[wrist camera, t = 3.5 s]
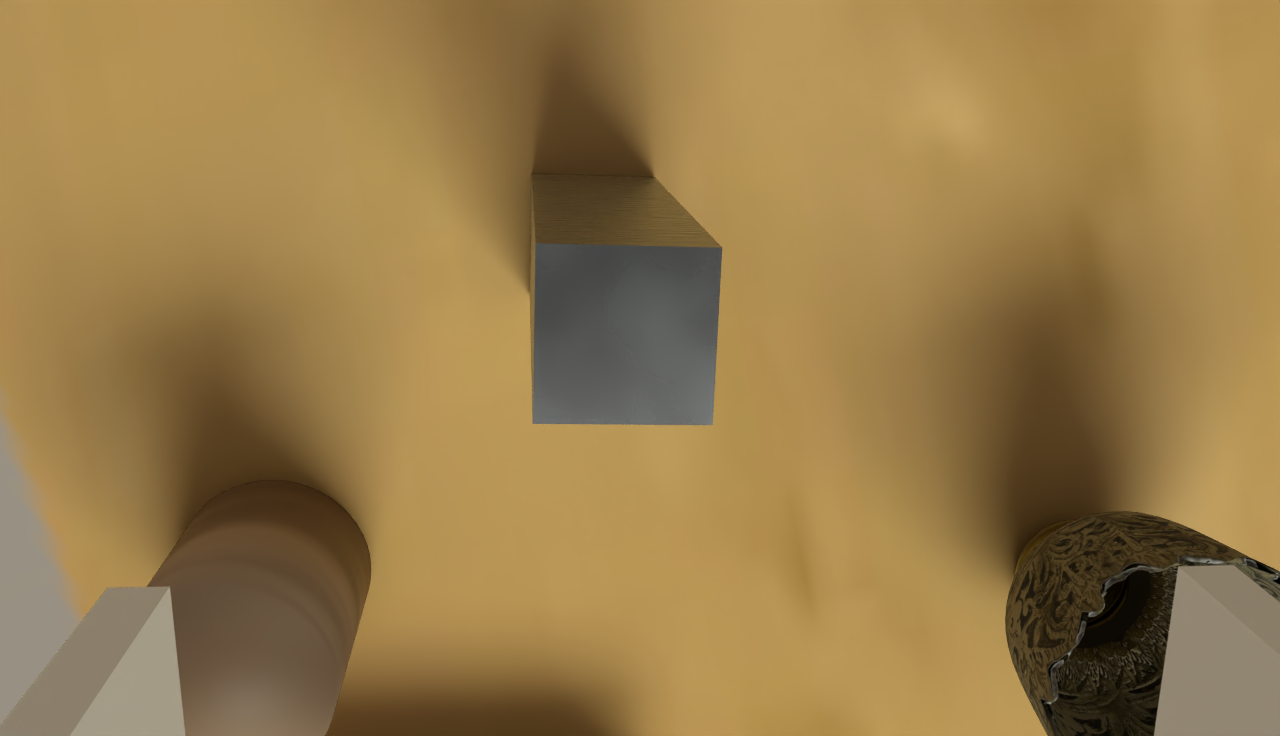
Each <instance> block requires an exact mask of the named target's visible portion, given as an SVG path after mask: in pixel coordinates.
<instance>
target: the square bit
mask: <svg viewBox="0 0 1280 736" xmlns="http://www.w3.org/2000/svg"><path fill="white" fill-rule="evenodd" d="M721 259H722V247H721V246H720V245H719V244H718V243H717V242H716V241H715V240H714V239H713V237H712V236H711V235H710V234H709V233H708V232H707V231H706V230H705V229H704V228H703V227H702V226H701V225H700V224H699V223H698V222H697V221H696V220H695V219H694V218H693V217H692V216H691V215H690V214H689V213H688V211H687V210H686V209H685V208H684V207H683V206H682V205H681V204H680V203H679V202H678V201H677V200H676V199H675V198H674V197H673V196H672V195H671V194H670V193H669V192H668V191H667V190H666V189H665V188H664V186H663V185H662V184H661V183H660V182H659V181H658V180H657V179H656V178H655V177H628V176H592V175H556V174H531V240H530V329H531V371H532V413H533V424H638V425H713V407H714V388H715V370H716V351H717V333H718V315H719V296H720V278H721Z"/></svg>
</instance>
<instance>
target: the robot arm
mask: <svg viewBox="0 0 1280 736" xmlns="http://www.w3.org/2000/svg"><path fill="white" fill-rule="evenodd" d="M0 736H185V727H184V718H183V708H182V698H181V689H180V679H179V669H178V660H177V650H176V641H175V631H174V621H173V612H172V602H171V592H170V586H168V587H118V588H107V589H106V590H105V591H104V593H103V594H102V595H101V597H100V598H99V599H98V600H97V602H96V603H95V604H94V606H93V607H92V608H91V609H90V611H89V612H88V613H87V615H86V616H85V617H84V618H83V620H82V621H81V622H80V624H79V625H78V626H77V627H76V629H75V630H74V631H73V633H72V634H71V635H70V636H69V638H68V639H67V640H66V642H65V643H64V644H63V645H62V647H61V648H60V649H59V651H58V652H57V653H56V655H55V656H54V657H53V658H52V660H51V661H50V662H49V664H48V665H47V666H46V667H45V669H44V670H43V671H42V672H41V674H40V675H39V676H38V678H37V679H36V680H35V681H34V683H33V684H32V685H31V687H30V688H29V689H28V691H27V692H26V693H25V694H24V696H23V697H22V698H21V699H20V701H19V702H18V703H17V705H16V706H15V708H14V709H13V710H12V711H11V713H10V714H9V715H8V716H7V718H6V719H5V720H4V721H3V723H2V724H1V725H0ZM1154 736H1280V602H1279V601H1277V600H1276V599H1275V598H1274V597H1273V596H1271V595H1270V594H1269V593H1268V592H1266V591H1265V590H1264V589H1263V588H1261V587H1260V586H1259V585H1258V584H1256V583H1255V582H1254V581H1253V580H1251V579H1250V578H1249V577H1248V576H1246V575H1245V574H1244V573H1243V572H1242V571H1240V570H1239V569H1238V568H1237V567H1235V566H1234V565H1220V566H1178V572H1177V579H1176V586H1175V593H1174V600H1173V607H1172V614H1171V621H1170V628H1169V634H1168V641H1167V648H1166V655H1165V662H1164V669H1163V676H1162V683H1161V690H1160V697H1159V703H1158V710H1157V717H1156V724H1155V731H1154Z"/></svg>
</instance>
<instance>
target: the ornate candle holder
mask: <svg viewBox="0 0 1280 736" xmlns="http://www.w3.org/2000/svg"><path fill="white" fill-rule="evenodd" d="M1220 565H1234V566H1235V567H1237V568H1238V569H1239V570H1240V571H1242V572H1243V573H1244V574H1245V575H1246V576H1248V577H1249V578H1250V579H1251V580H1253V581H1254V582H1255V583H1256V584H1258V585H1259V586H1260V587H1261V588H1263V589H1264V590H1265V591H1266V592H1268V593H1269V594H1270V595H1271V596H1273V597H1274V598H1275V599H1276V600H1277V601H1279V602H1280V572H1279V571H1277V570H1276V569H1274V568H1271V567H1269V566H1267V565H1265V564H1263V563H1261V562H1258V561H1256V560H1254V559H1252V558H1250V557H1248V556H1246V555H1244V554H1242V553H1240V552H1238V551H1236V550H1234V549H1232V548H1230V547H1228V546H1226V545H1224V544H1222V543H1220V542H1218V541H1216V540H1214V539H1212V538H1210V537H1208V536H1206V535H1204V534H1201V533H1199V532H1197V531H1195V530H1193V529H1191V528H1188V527H1186V526H1184V525H1181V524H1179V523H1176V522H1173V521H1170V520H1167V519H1164V518H1161V517H1158V516H1153V515H1148V514H1143V513H1138V512H1128V511H1122V512H1104V513H1097V514H1092V515H1088V516H1085V517H1082V518H1079V519H1076V520H1068V521H1062V522H1058V523H1055V524H1052V525H1050V526H1048V527H1046V528H1044V529H1043V530H1041V531H1040V532H1038V533H1037V534H1036V535H1035V536H1034V537H1032V538H1031V540H1030V541H1029V542H1028V543H1027V544H1026V546H1025V547H1024V549H1023V550H1022V552H1021V554H1020V556H1019V559H1018V562H1017V565H1016V570H1015V578H1014V580H1013V582H1012V585H1011V588H1010V591H1009V595H1008V599H1007V605H1006V618H1005V625H1006V636H1007V642H1008V647H1009V651H1010V655H1011V658H1012V662H1013V664H1014V667H1015V670H1016V672H1017V675H1018V677H1019V679H1020V682H1021V684H1022V686H1023V688H1024V690H1025V693H1026V695H1027V697H1028V699H1029V701H1030V703H1031V705H1032V706H1033V708H1034V710H1035V712H1036V714H1037V716H1038V718H1039V720H1040V722H1041V724H1042V726H1043V727H1044V729H1045V731H1046V733H1047V735H1048V736H1154V731H1155V724H1156V717H1157V710H1158V703H1159V697H1160V690H1161V683H1162V676H1163V669H1164V662H1165V655H1166V648H1167V641H1168V634H1169V628H1170V621H1171V614H1172V607H1173V600H1174V593H1175V586H1176V579H1177V572H1178V566H1220ZM1276 573H1278V574H1276Z"/></svg>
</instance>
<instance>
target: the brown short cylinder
mask: <svg viewBox="0 0 1280 736" xmlns="http://www.w3.org/2000/svg"><path fill="white" fill-rule="evenodd" d="M370 580H371V561H370V554H369V550H368V546H367V543H366V541H365V538H364V536H363V534H362V532H361V530H360V528H359V527H358V525H357V524H356V522H355V521H354V520H353V518H352V517H351V516H350V515H349V513H348V512H347V511H346V510H345V509H344V508H343V507H342V506H340V505H339V504H338V503H337V502H335V501H334V500H333V499H331V498H330V497H328V496H326V495H325V494H323V493H321V492H319V491H317V490H315V489H313V488H310V487H308V486H304V485H301V484H298V483H293V482H287V481H276V480H267V481H256V482H251V483H246V484H243V485H240V486H236V487H234V488H231V489H229V490H227V491H225V492H223V493H221V494H220V495H218V496H217V497H215V498H213V499H212V500H211V501H210V502H209V503H207V504H206V505H205V506H204V507H203V508H202V509H201V510H200V511H199V512H198V513H197V515H196V516H195V517H194V519H193V520H192V522H191V523H190V525H189V526H188V527H187V529H186V530H185V532H184V533H183V535H182V536H181V538H180V539H179V541H178V542H177V543H176V545H175V546H174V548H173V549H172V551H171V552H170V554H169V555H168V557H167V558H166V559H165V561H164V562H163V564H162V565H161V567H160V568H159V570H158V571H157V573H156V574H155V575H154V577H153V578H152V580H151V581H150V583H149V584H148V586H147V587H168V586H170V592H171V602H172V612H173V621H174V631H175V641H176V650H177V660H178V669H179V679H180V689H181V698H182V708H183V718H184V727H185V736H325V735H326V733H327V731H328V729H329V726H330V723H331V721H332V718H333V715H334V711H335V708H336V704H337V701H338V697H339V693H340V690H341V686H342V683H343V679H344V676H345V672H346V669H347V665H348V661H349V658H350V654H351V651H352V647H353V644H354V640H355V636H356V633H357V629H358V626H359V622H360V619H361V615H362V612H363V608H364V604H365V601H366V597H367V594H368V590H369V585H370Z"/></svg>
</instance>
